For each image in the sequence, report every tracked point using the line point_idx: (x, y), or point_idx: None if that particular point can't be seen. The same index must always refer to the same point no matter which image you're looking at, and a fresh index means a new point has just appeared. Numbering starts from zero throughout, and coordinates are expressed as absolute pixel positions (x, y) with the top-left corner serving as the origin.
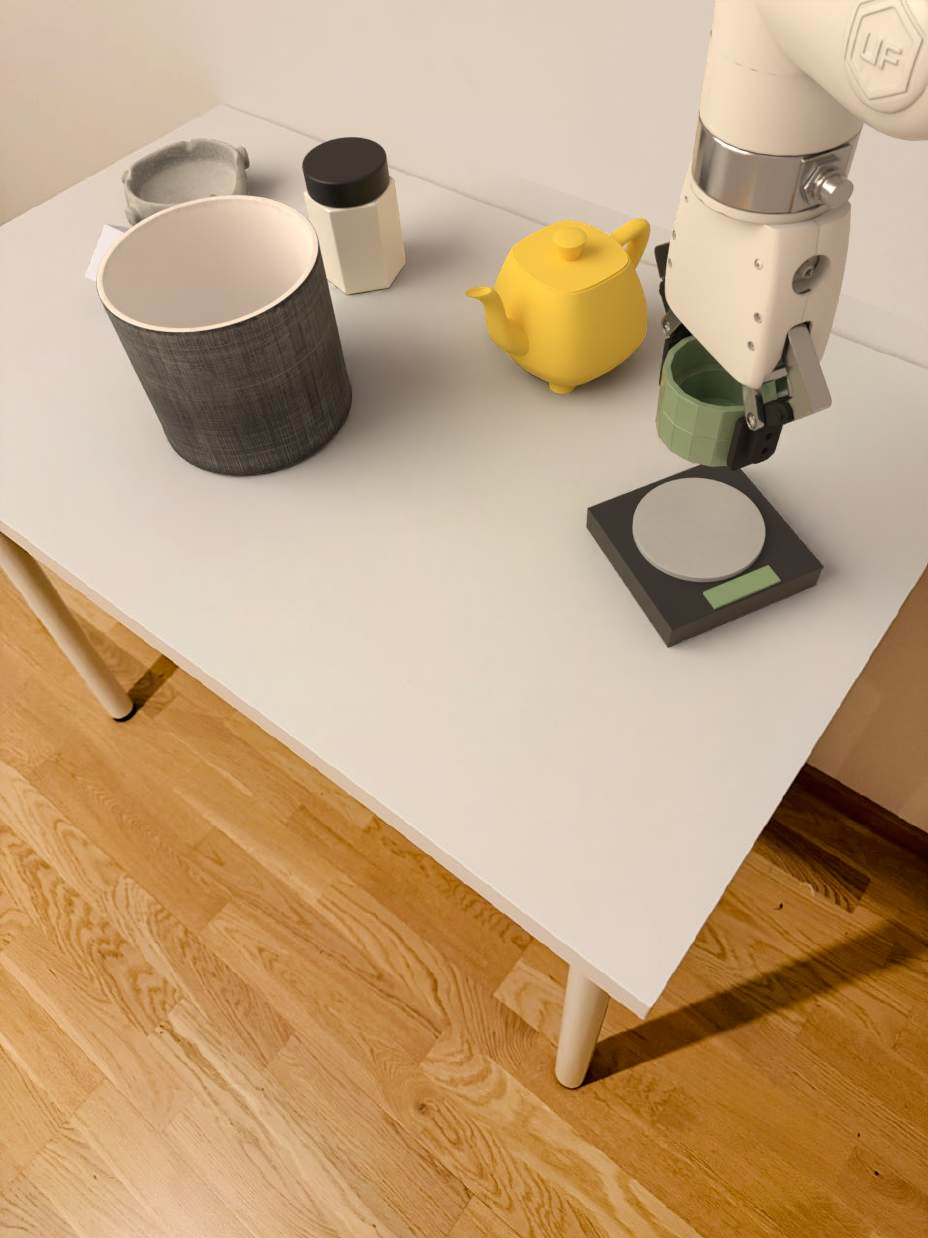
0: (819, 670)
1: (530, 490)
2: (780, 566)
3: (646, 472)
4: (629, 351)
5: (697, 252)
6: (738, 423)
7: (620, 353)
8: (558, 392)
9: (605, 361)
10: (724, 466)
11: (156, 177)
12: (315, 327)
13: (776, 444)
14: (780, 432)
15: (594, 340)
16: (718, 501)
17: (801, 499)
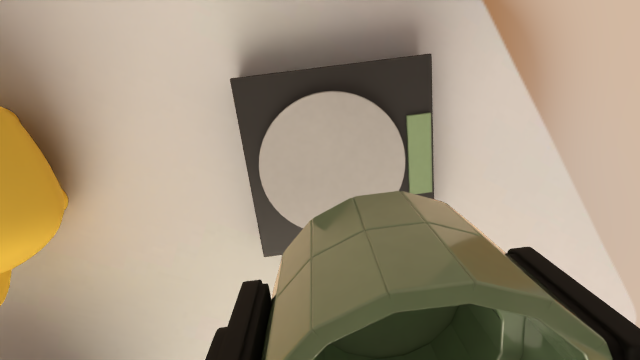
0: (505, 106)
1: (206, 273)
2: (411, 101)
3: (212, 160)
4: (15, 133)
5: None
6: None
7: (21, 152)
8: (65, 207)
9: (36, 176)
10: (249, 93)
11: None
12: None
13: (544, 259)
14: (575, 282)
15: (2, 207)
16: (307, 131)
17: (303, 6)
